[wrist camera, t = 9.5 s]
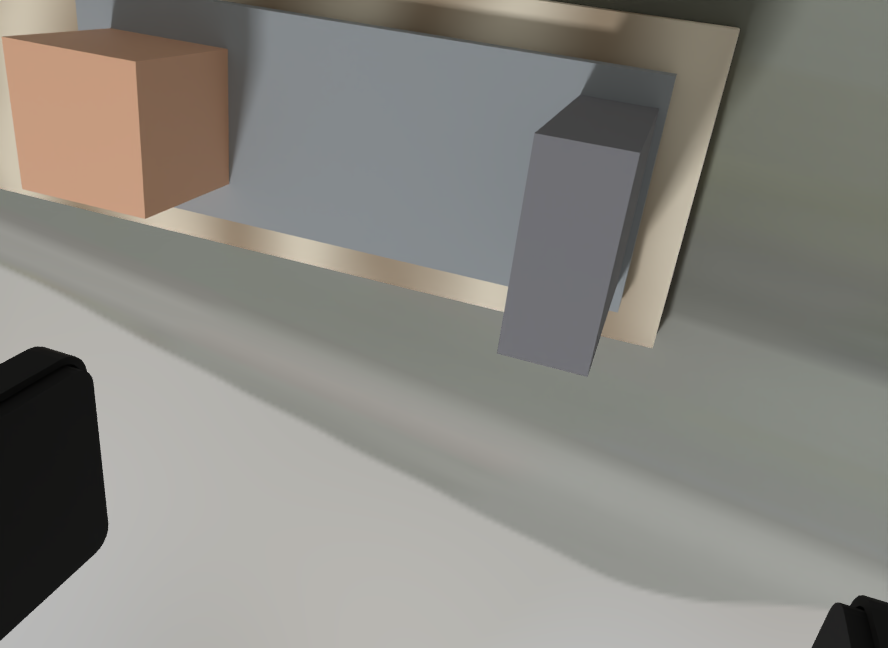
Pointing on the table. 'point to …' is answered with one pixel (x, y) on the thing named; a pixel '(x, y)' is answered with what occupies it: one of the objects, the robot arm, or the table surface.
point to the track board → (501, 23)
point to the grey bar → (433, 155)
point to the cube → (119, 118)
